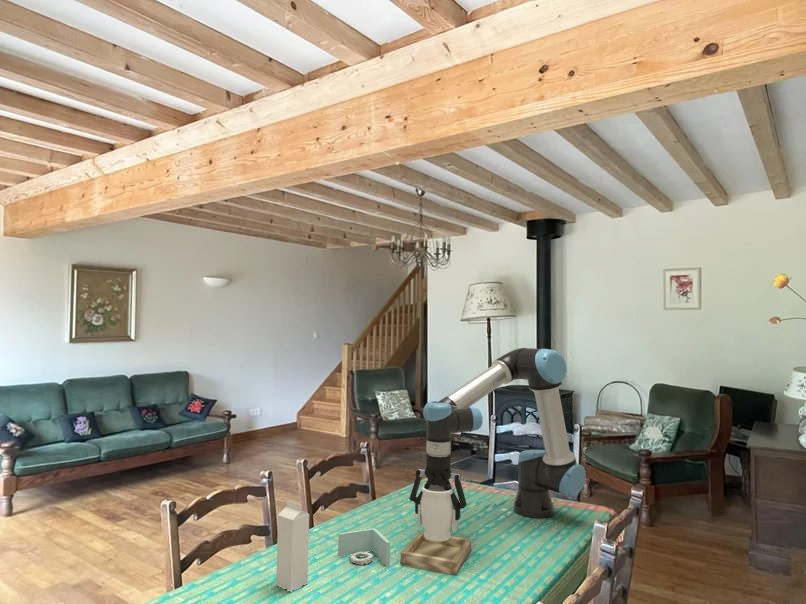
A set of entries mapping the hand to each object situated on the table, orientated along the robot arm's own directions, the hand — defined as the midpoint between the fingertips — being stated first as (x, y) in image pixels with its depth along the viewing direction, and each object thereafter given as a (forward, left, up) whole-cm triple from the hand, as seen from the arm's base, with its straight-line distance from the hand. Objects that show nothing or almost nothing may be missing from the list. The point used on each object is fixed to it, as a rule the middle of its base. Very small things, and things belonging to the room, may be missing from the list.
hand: (437, 527), depth 162 cm
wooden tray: (0, 0, -9) cm, 9 cm away
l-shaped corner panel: (+20, +11, -10) cm, 25 cm away
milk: (+31, +32, -9) cm, 45 cm away
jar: (0, 0, -3) cm, 3 cm away
